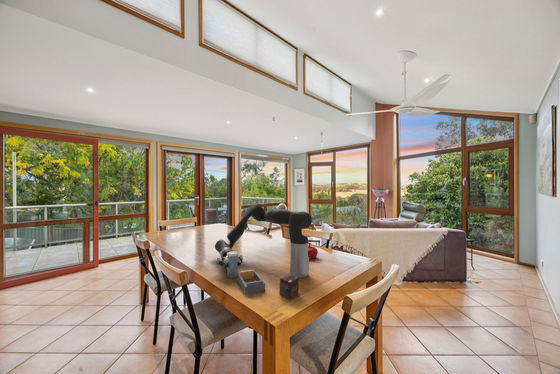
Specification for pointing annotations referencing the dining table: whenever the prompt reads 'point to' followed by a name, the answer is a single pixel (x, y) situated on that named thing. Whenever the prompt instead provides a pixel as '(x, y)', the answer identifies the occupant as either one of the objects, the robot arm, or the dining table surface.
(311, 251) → the pomegranate
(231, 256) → the jar
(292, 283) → the box
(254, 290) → the grey open tray
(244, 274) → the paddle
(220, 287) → the dining table surface
